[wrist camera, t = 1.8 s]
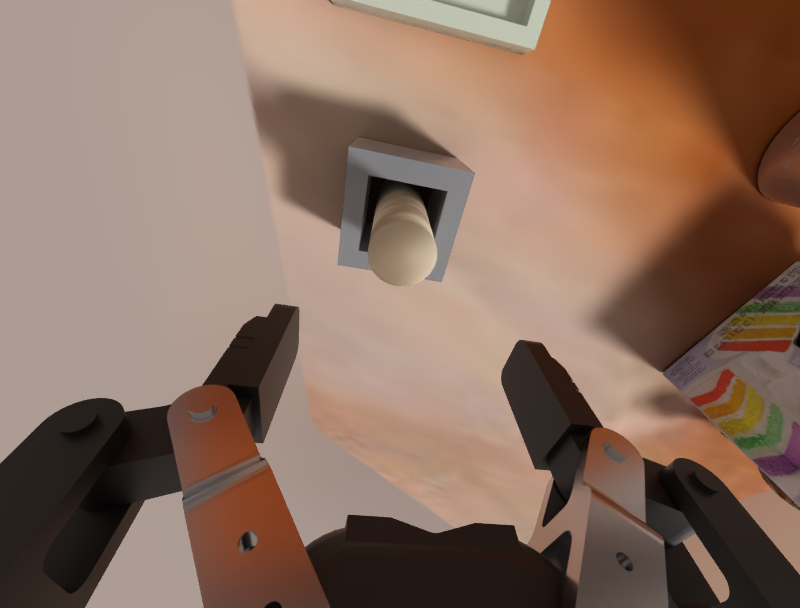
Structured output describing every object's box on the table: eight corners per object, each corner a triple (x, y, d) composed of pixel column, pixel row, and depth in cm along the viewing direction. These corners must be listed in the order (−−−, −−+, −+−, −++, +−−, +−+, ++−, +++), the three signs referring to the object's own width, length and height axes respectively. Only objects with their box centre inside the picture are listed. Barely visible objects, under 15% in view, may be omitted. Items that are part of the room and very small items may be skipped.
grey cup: (457, 158, 27) (474, 172, 21) (432, 248, 31) (441, 282, 25) (358, 136, 26) (348, 146, 20) (348, 233, 30) (337, 264, 24)
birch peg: (425, 180, 28) (445, 229, 17) (415, 222, 30) (427, 290, 19) (381, 171, 27) (372, 215, 16) (375, 215, 29) (363, 280, 18)
